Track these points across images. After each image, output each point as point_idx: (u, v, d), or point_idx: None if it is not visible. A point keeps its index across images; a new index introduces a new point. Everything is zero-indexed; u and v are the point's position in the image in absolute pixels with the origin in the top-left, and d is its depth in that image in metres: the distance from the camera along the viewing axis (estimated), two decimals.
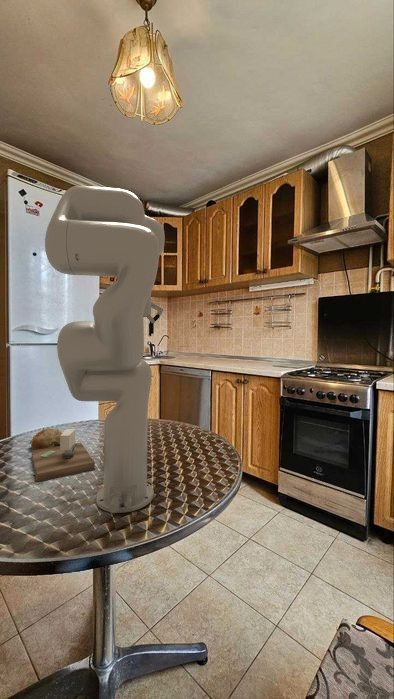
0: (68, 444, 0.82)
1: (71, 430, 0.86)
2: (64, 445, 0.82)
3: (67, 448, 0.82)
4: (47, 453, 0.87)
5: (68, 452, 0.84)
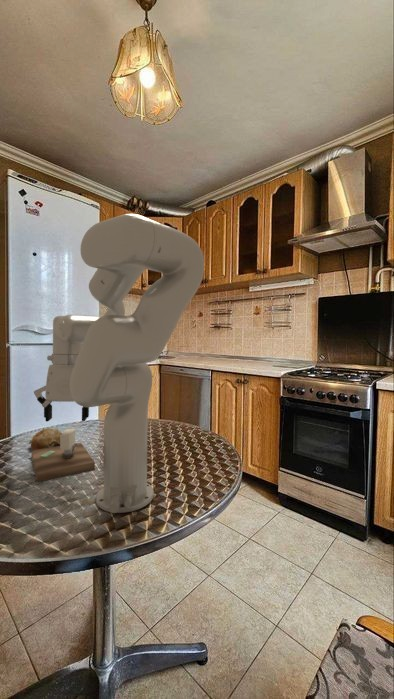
0: (68, 444, 0.82)
1: (71, 430, 0.86)
2: (64, 445, 0.82)
3: (67, 448, 0.82)
4: (47, 453, 0.87)
5: (68, 452, 0.84)
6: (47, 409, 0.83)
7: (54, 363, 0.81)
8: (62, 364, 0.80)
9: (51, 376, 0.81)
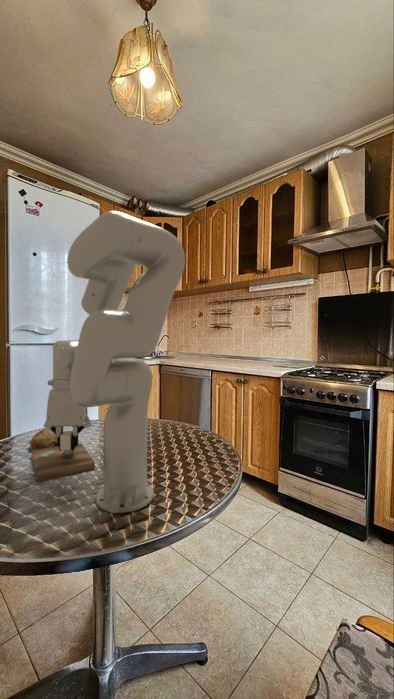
0: (68, 444, 0.82)
1: (71, 430, 0.86)
2: (64, 445, 0.82)
3: (67, 448, 0.82)
4: (47, 453, 0.87)
5: (68, 452, 0.84)
6: None
7: (55, 388, 0.81)
8: (63, 389, 0.81)
9: (52, 401, 0.81)
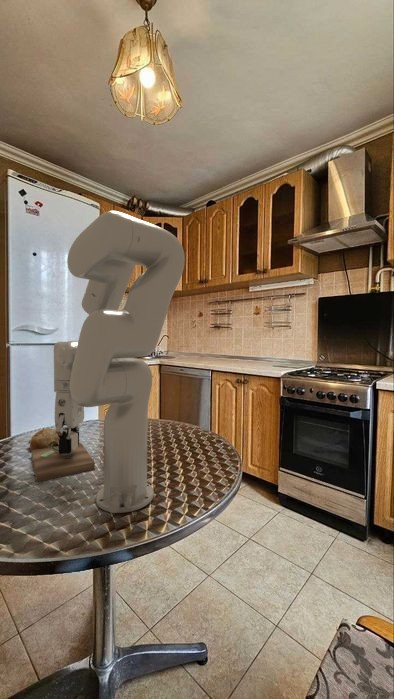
0: (77, 442, 0.84)
1: (66, 430, 0.86)
2: (73, 444, 0.83)
3: (76, 446, 0.84)
4: (47, 453, 0.87)
5: (71, 451, 0.85)
6: None
7: None
8: None
9: (74, 402, 0.81)
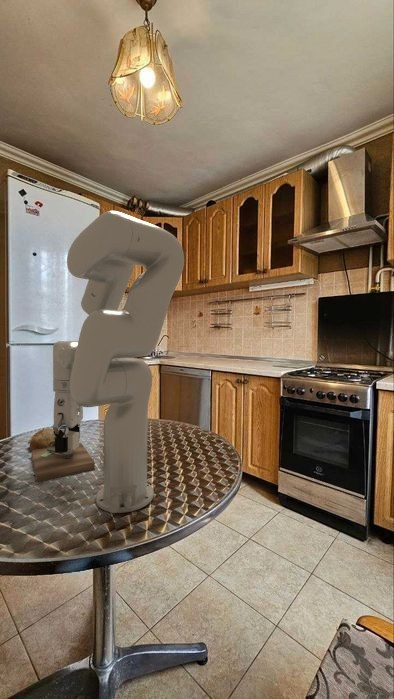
0: (78, 441, 0.84)
1: None
2: (75, 443, 0.84)
3: (77, 445, 0.84)
4: (47, 453, 0.87)
5: (71, 451, 0.85)
6: (67, 439, 0.80)
7: None
8: None
9: (73, 402, 0.81)
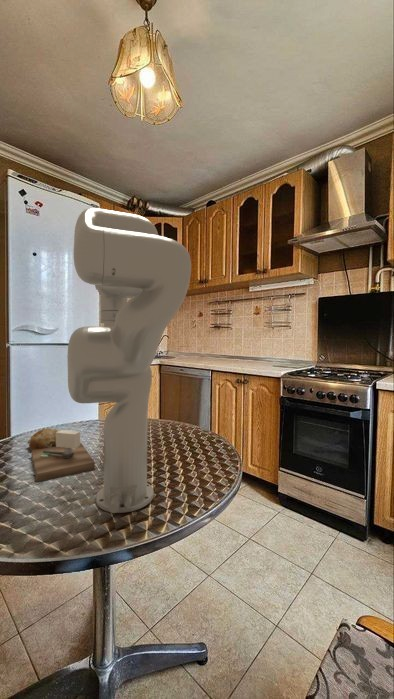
0: (79, 440, 0.85)
1: (64, 431, 0.86)
2: (77, 442, 0.84)
3: (78, 444, 0.85)
4: (47, 453, 0.87)
5: (71, 451, 0.85)
6: None
7: None
8: None
9: None
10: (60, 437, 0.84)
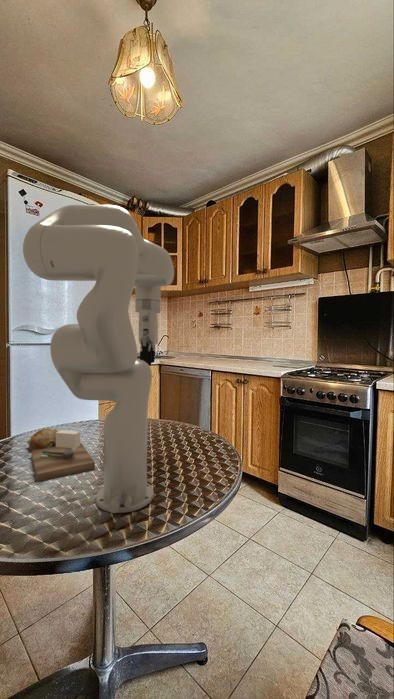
0: (79, 440, 0.85)
1: (64, 431, 0.86)
2: (77, 442, 0.84)
3: (79, 444, 0.85)
4: None
5: (71, 451, 0.85)
6: None
7: (156, 309, 0.88)
8: None
9: (155, 320, 0.87)
10: (60, 437, 0.84)
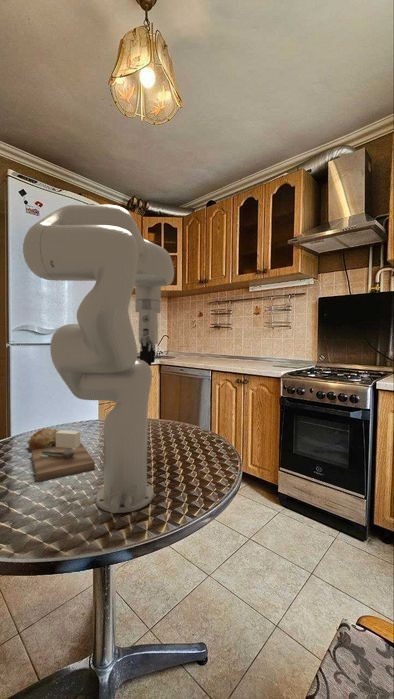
0: (79, 440, 0.85)
1: (64, 431, 0.85)
2: (77, 442, 0.84)
3: (79, 444, 0.85)
4: None
5: (71, 451, 0.85)
6: None
7: (156, 309, 0.88)
8: None
9: (155, 320, 0.87)
10: (60, 437, 0.84)
